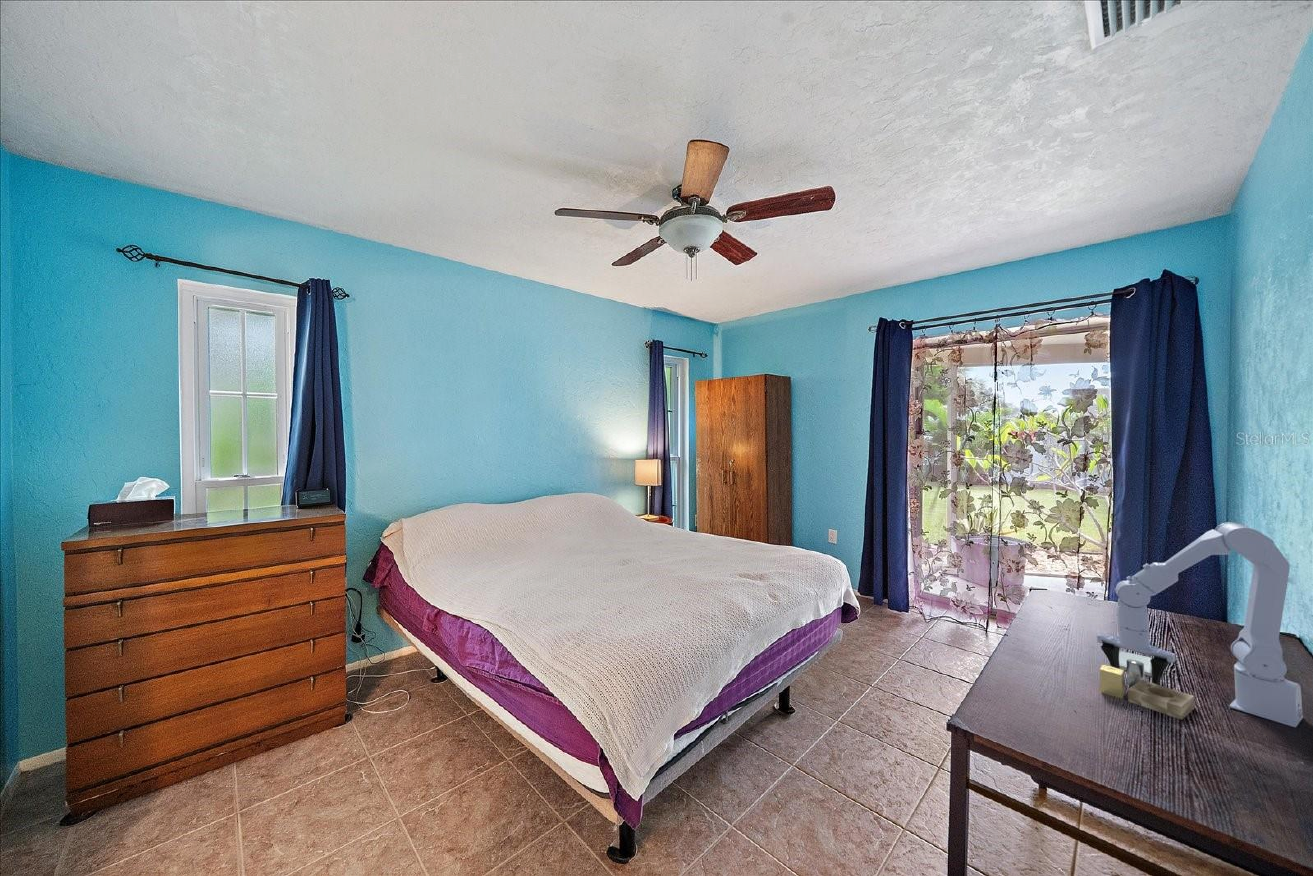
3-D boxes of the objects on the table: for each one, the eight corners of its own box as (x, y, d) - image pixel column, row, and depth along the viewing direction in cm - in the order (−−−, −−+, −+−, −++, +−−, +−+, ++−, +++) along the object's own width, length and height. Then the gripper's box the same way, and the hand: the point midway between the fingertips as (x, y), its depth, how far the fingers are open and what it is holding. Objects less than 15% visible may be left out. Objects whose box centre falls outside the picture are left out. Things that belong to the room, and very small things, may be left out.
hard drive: (1112, 649, 140) (1109, 662, 132) (1152, 657, 134) (1151, 672, 126) (1113, 654, 140) (1109, 668, 132) (1152, 663, 134) (1151, 678, 126)
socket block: (1194, 708, 111) (1193, 695, 111) (1181, 720, 107) (1181, 707, 107) (1142, 691, 119) (1141, 679, 119) (1128, 701, 115) (1127, 689, 115)
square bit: (1125, 693, 118) (1124, 670, 119) (1122, 699, 116) (1121, 675, 116) (1103, 687, 122) (1102, 664, 122) (1100, 692, 119) (1099, 669, 119)
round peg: (1146, 685, 122) (1145, 663, 122) (1142, 689, 120) (1141, 666, 120) (1130, 680, 124) (1129, 658, 124) (1125, 683, 123) (1124, 661, 123)
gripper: (1178, 633, 118) (1181, 686, 118) (1103, 615, 131) (1105, 663, 130) (1168, 639, 115) (1171, 694, 114) (1092, 621, 127) (1095, 670, 127)
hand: (1135, 678), depth 122 cm, fingers open, 7 cm apart
